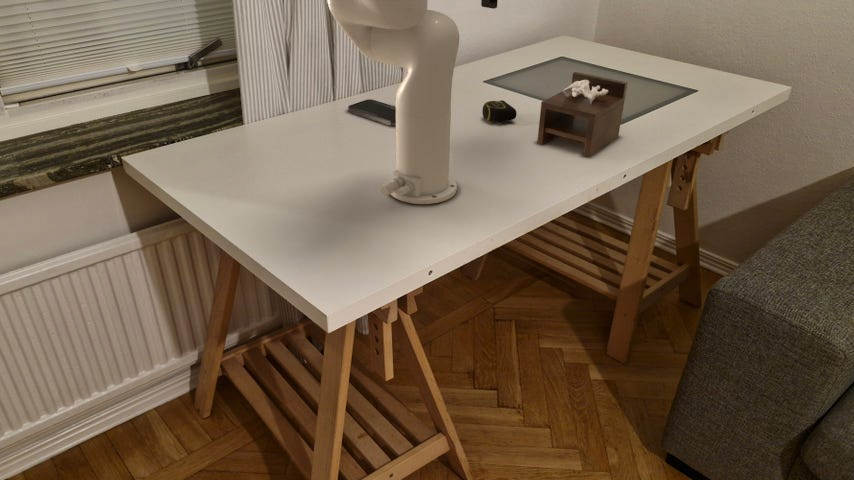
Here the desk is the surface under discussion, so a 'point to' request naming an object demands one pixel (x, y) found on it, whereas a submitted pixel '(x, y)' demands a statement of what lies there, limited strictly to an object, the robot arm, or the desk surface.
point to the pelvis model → (584, 90)
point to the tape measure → (498, 111)
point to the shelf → (584, 114)
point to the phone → (375, 111)
